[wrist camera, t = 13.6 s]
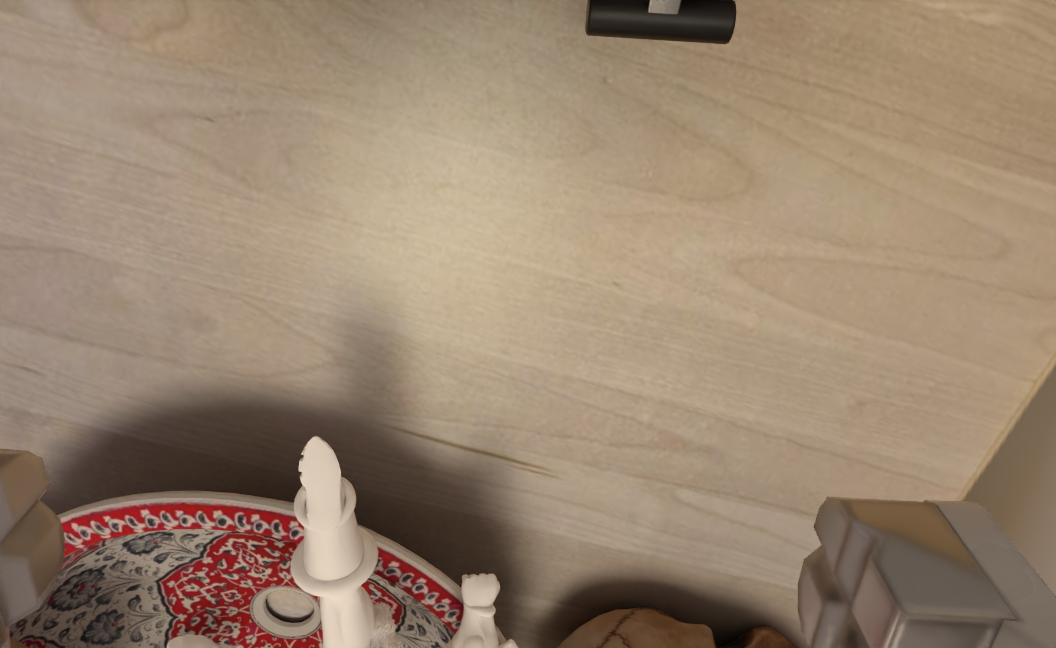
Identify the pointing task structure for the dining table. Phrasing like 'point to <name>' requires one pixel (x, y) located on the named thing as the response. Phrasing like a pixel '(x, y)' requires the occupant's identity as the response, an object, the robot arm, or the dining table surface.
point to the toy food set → (16, 644)
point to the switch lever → (663, 19)
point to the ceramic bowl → (212, 578)
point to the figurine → (356, 569)
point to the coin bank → (660, 633)
